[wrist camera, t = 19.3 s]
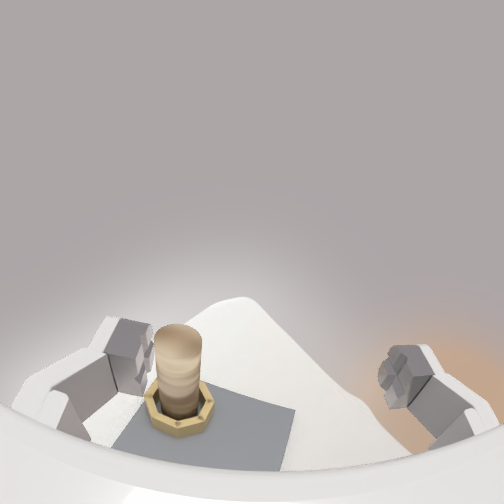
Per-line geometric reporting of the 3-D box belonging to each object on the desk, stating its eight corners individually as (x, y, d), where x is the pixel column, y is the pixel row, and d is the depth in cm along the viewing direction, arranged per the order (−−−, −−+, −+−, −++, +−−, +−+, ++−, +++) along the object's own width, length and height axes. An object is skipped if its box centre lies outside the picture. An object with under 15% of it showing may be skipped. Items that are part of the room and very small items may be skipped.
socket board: (264, 514, 23) (271, 508, 22) (111, 452, 27) (103, 440, 25) (293, 413, 38) (300, 398, 37) (168, 371, 42) (167, 354, 40)
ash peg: (194, 429, 33) (196, 361, 27) (157, 420, 33) (147, 350, 27) (200, 400, 37) (205, 329, 31) (166, 393, 37) (162, 319, 31)
